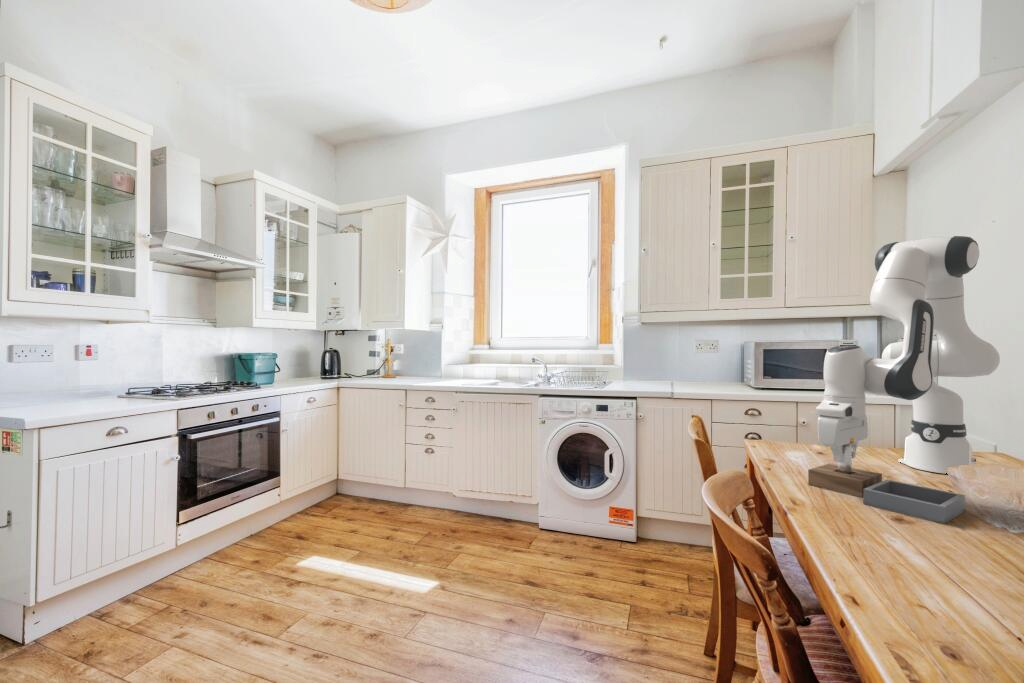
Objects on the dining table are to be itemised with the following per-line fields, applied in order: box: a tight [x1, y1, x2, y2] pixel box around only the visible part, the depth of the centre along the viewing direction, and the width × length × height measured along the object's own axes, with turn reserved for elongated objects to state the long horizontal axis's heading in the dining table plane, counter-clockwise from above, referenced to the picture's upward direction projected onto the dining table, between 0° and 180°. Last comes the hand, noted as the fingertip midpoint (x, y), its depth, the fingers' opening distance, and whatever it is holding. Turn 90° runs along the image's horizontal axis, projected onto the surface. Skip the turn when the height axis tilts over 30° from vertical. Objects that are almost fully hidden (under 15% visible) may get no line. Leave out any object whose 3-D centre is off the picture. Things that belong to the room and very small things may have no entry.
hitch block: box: [807, 463, 883, 498], centre depth 117 cm, size 12×12×4 cm
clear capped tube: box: [836, 437, 855, 475], centre depth 117 cm, size 4×4×13 cm
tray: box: [863, 479, 966, 525], centre depth 102 cm, size 14×14×4 cm
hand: (844, 459), depth 117 cm, fingers open, 5 cm apart
